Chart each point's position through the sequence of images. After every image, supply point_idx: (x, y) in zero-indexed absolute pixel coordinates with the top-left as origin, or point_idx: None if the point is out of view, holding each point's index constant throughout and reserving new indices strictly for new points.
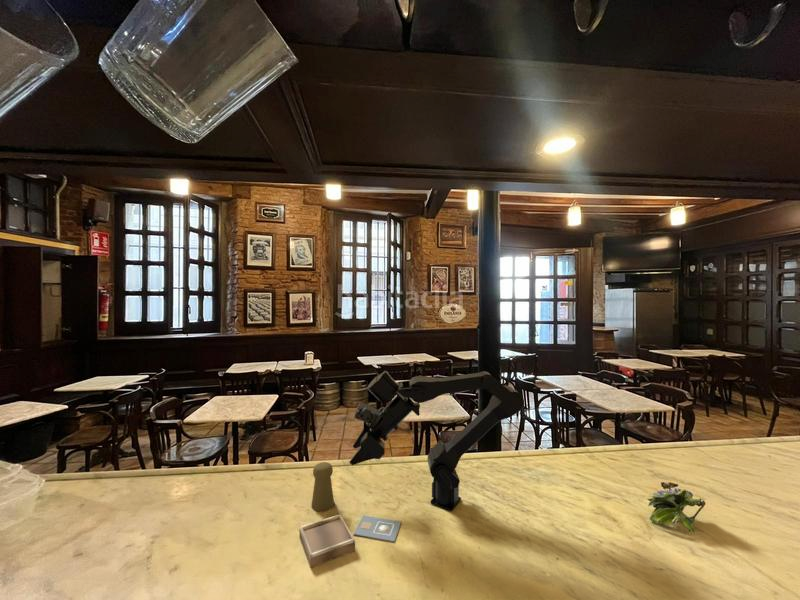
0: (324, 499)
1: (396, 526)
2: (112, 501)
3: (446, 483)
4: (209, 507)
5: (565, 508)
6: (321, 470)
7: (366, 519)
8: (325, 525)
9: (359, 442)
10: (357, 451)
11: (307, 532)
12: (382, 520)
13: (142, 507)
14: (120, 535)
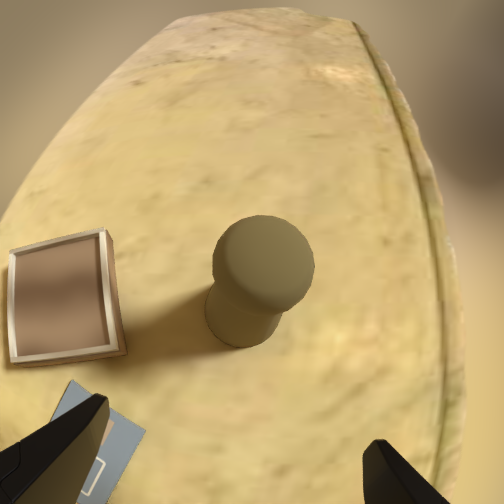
0: (209, 303)
1: (79, 497)
2: (312, 36)
3: None
4: (284, 94)
5: None
6: (223, 244)
7: (122, 434)
8: (92, 298)
9: (382, 493)
10: (25, 459)
11: (85, 248)
12: (109, 475)
13: (296, 48)
14: (237, 41)
